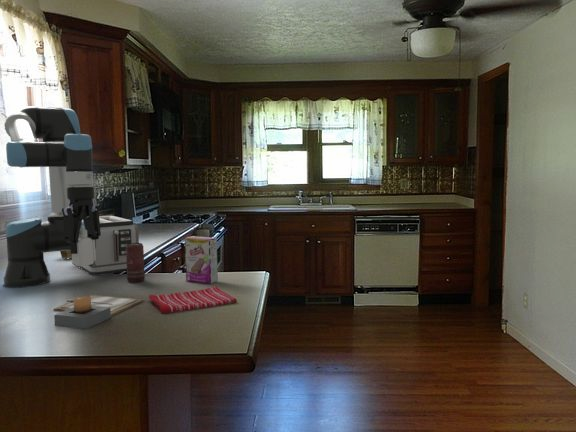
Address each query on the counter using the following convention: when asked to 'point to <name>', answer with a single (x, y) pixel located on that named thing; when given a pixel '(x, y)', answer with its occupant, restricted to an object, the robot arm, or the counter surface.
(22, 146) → the robot arm
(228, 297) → the dish towel
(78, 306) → the button
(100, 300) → the brown picture frame
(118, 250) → the toaster
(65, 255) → the ceramic cup
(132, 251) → the can
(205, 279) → the candy bar box
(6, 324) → the counter surface
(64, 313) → the button housing
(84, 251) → the eye dropper bottle
